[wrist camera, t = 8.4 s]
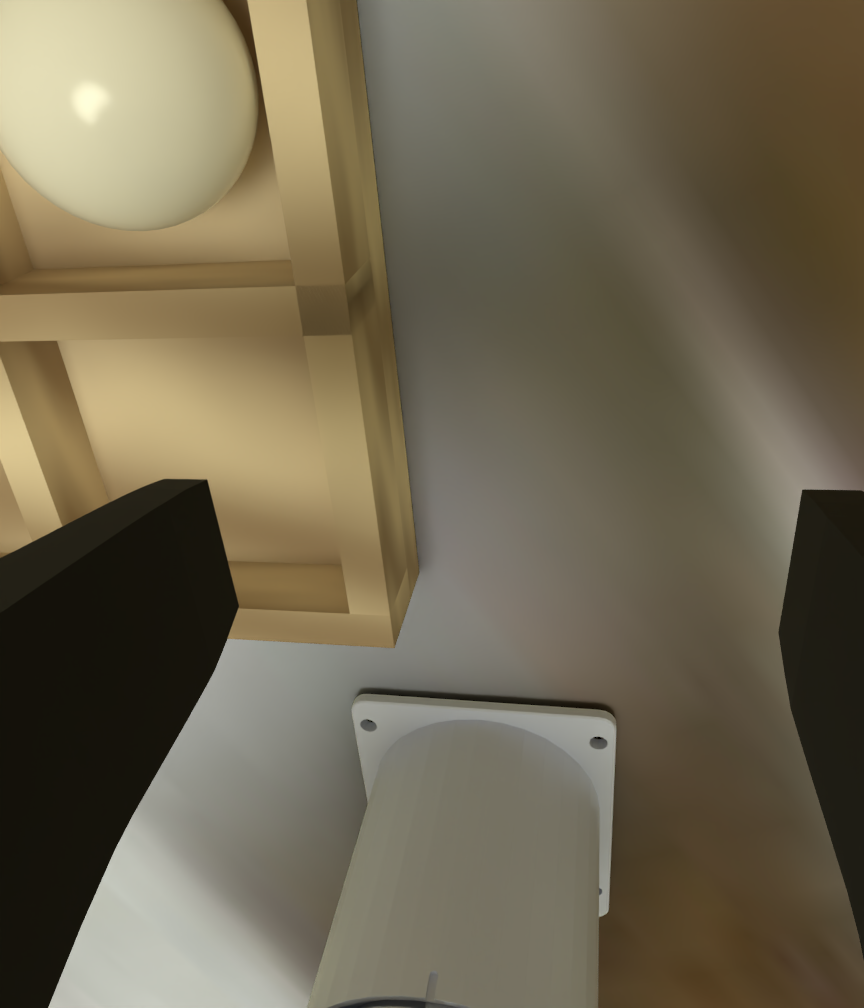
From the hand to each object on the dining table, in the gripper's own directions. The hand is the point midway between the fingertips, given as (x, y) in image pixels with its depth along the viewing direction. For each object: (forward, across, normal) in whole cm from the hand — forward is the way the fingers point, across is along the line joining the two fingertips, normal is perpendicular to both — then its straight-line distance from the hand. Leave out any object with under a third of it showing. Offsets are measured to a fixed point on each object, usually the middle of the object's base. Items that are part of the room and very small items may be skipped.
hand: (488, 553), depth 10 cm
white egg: (+8, +8, -5) cm, 13 cm away
